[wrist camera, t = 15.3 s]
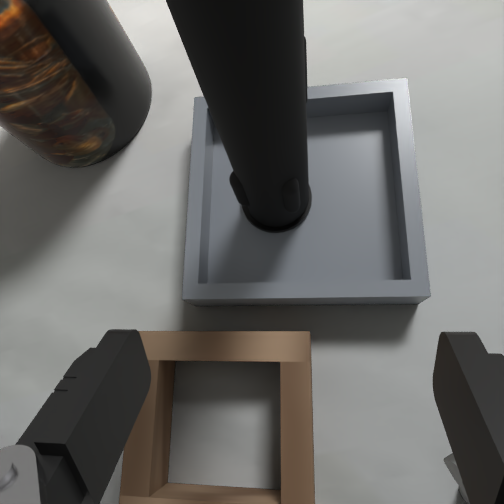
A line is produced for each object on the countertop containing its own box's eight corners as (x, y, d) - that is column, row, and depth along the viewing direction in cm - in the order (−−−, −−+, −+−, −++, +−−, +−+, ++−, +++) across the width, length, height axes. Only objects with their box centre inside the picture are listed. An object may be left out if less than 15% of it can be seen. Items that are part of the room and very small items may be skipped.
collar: (310, 335, 27) (309, 331, 24) (315, 525, 24) (314, 547, 21) (153, 334, 28) (134, 331, 26) (139, 512, 25) (116, 530, 23)
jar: (167, 139, 33) (49, -37, 18) (36, 186, 33) (-173, 52, 19) (138, 31, 36) (21, -185, 22) (21, 76, 37) (-165, -104, 23)
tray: (398, 104, 30) (407, 77, 27) (418, 303, 26) (430, 296, 23) (205, 121, 33) (194, 97, 30) (195, 306, 28) (181, 299, 26)
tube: (-71, -451, 4) (414, -688, 4) (-115, -561, 6) (222, -725, 6) (256, 250, 28) (329, 217, 28) (227, 185, 30) (296, 154, 30)
